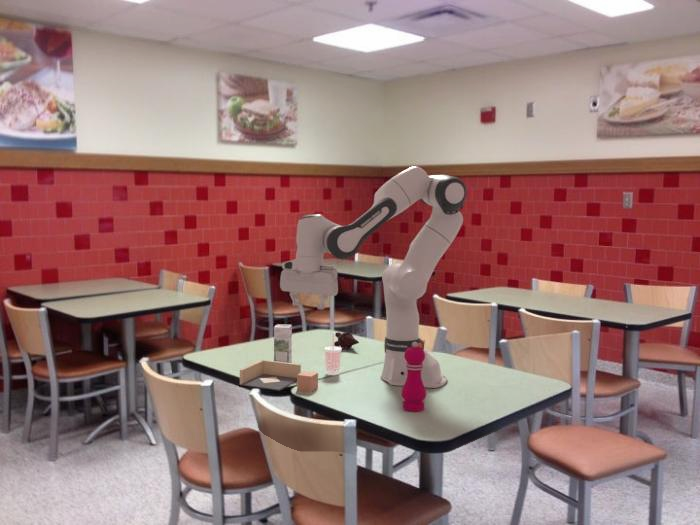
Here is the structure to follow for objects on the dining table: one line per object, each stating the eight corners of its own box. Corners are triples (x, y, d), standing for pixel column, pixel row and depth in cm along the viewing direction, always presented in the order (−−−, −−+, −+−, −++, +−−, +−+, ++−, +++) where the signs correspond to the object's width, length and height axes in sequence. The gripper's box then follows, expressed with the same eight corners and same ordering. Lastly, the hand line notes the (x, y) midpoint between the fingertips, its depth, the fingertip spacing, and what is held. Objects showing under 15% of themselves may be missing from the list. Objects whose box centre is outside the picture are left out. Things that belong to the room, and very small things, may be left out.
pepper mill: (423, 404, 191) (425, 338, 189) (427, 412, 184) (429, 344, 182) (399, 404, 191) (401, 338, 189) (402, 412, 184) (404, 344, 182)
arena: (300, 378, 217) (300, 364, 217) (279, 390, 203) (279, 375, 203) (262, 373, 223) (262, 359, 222) (238, 385, 209) (238, 370, 208)
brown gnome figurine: (366, 334, 259) (343, 331, 271) (352, 332, 254) (329, 329, 266) (364, 351, 258) (340, 348, 270) (350, 349, 254) (327, 346, 265)
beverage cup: (343, 371, 227) (344, 332, 225) (338, 376, 221) (339, 336, 219) (327, 370, 228) (327, 331, 227) (321, 374, 222) (322, 335, 221)
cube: (317, 387, 207) (318, 372, 207) (311, 391, 203) (311, 376, 202) (304, 385, 209) (304, 370, 209) (297, 390, 205) (297, 374, 204)
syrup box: (292, 362, 239) (292, 323, 238) (288, 366, 233) (289, 327, 232) (276, 361, 240) (277, 323, 238) (273, 365, 234) (273, 326, 232)
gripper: (342, 266, 203) (341, 309, 204) (288, 261, 212) (287, 302, 214) (332, 268, 197) (331, 312, 199) (277, 263, 207) (276, 305, 208)
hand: (308, 307), depth 206 cm, fingers open, 8 cm apart
